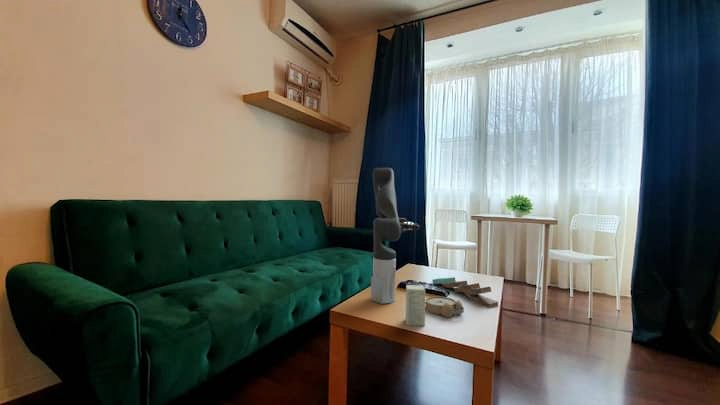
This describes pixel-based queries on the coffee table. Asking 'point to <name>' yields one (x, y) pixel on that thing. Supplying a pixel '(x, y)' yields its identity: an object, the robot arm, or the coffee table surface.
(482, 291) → the domino
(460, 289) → the domino
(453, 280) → the teal domino
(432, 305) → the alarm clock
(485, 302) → the domino
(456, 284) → the domino
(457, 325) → the coffee table surface
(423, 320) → the skincare box
